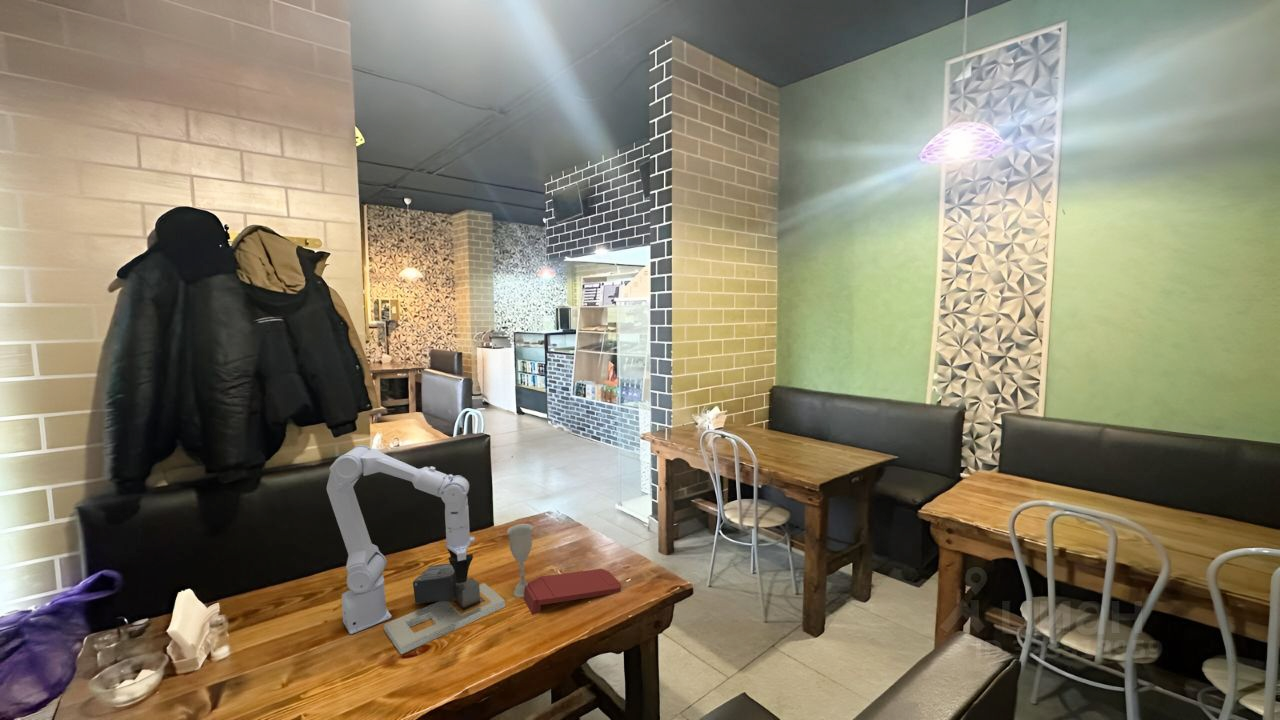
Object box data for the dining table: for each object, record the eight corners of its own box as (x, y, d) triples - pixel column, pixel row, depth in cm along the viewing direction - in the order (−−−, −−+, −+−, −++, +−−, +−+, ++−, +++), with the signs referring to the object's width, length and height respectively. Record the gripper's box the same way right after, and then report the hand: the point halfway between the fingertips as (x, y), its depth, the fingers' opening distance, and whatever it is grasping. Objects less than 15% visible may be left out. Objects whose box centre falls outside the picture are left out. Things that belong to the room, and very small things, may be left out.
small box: (431, 588, 139) (414, 605, 129) (429, 565, 140) (411, 580, 129) (468, 583, 139) (453, 600, 129) (465, 560, 140) (450, 575, 129)
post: (463, 616, 125) (462, 590, 125) (456, 609, 129) (455, 583, 128) (480, 609, 128) (479, 583, 128) (473, 602, 132) (472, 577, 131)
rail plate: (400, 654, 111) (400, 646, 111) (384, 630, 120) (384, 623, 120) (505, 606, 129) (504, 599, 129) (484, 589, 138) (484, 582, 138)
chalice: (528, 600, 132) (526, 535, 130) (505, 597, 133) (502, 534, 132) (539, 585, 139) (537, 524, 137) (517, 583, 140) (514, 522, 139)
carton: (603, 584, 146) (521, 596, 134) (605, 567, 146) (523, 578, 134) (622, 604, 136) (534, 619, 124) (624, 586, 136) (536, 600, 124)
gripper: (477, 532, 122) (480, 584, 123) (469, 512, 135) (472, 559, 136) (447, 538, 119) (450, 591, 120) (442, 517, 132) (444, 565, 133)
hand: (459, 575), depth 128 cm, fingers open, 7 cm apart
